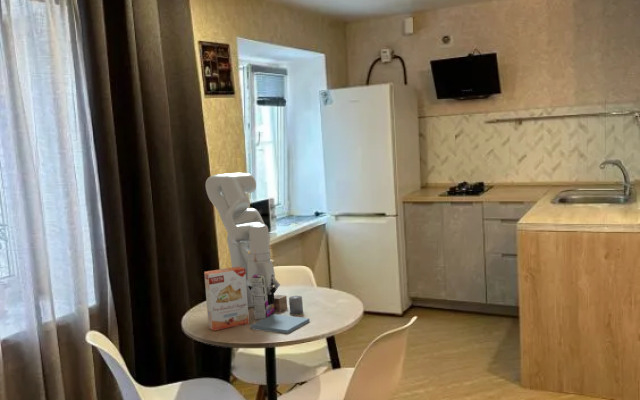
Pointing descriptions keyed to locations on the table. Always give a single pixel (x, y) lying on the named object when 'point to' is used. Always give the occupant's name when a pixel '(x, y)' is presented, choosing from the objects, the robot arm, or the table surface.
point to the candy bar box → (261, 298)
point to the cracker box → (226, 298)
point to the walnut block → (280, 302)
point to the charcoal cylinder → (296, 305)
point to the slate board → (280, 323)
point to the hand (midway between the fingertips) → (263, 302)
